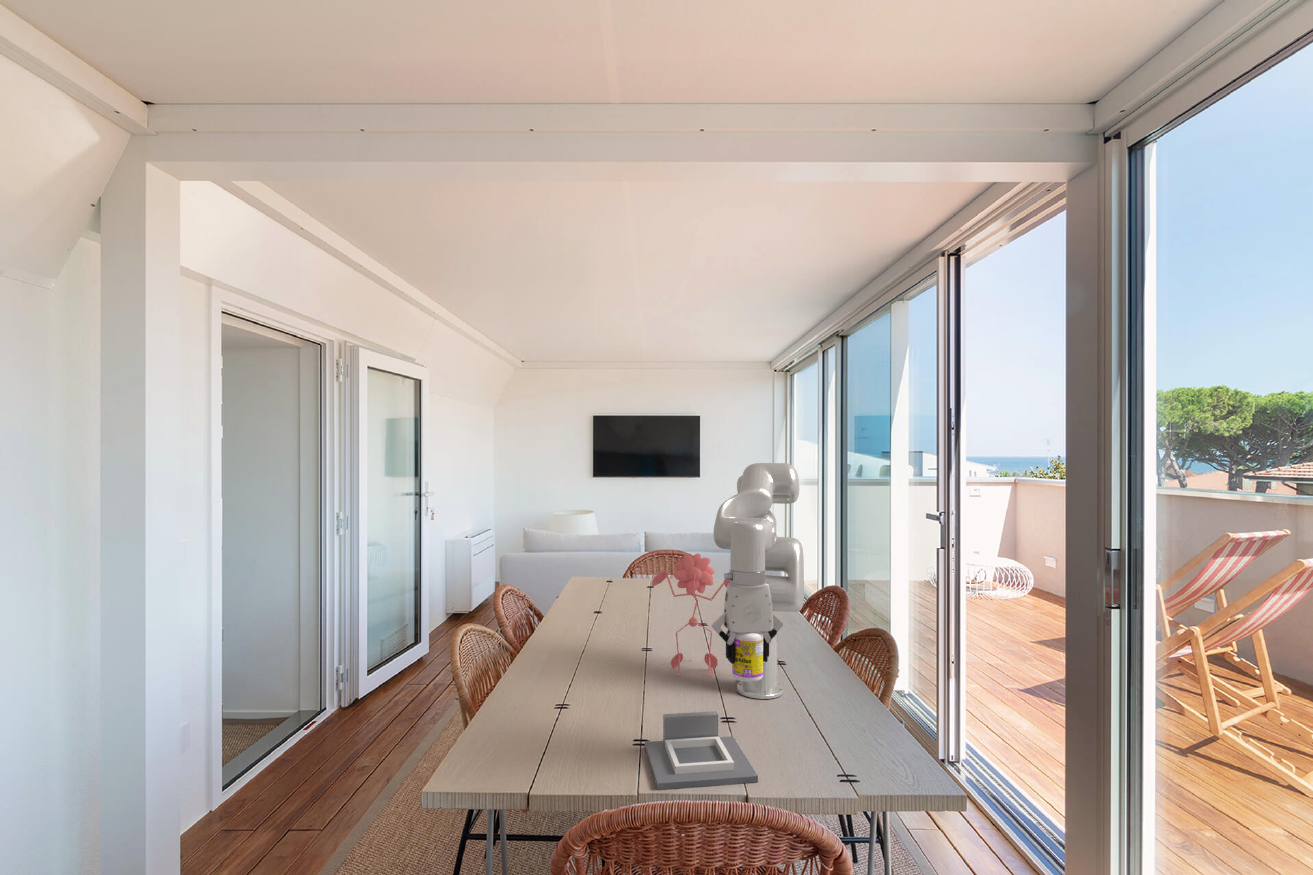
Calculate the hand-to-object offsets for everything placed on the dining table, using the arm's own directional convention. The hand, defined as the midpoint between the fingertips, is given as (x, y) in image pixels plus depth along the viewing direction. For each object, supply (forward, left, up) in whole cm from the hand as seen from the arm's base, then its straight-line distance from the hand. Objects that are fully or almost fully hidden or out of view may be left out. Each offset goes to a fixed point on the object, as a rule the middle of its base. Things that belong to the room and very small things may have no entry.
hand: (747, 660), depth 136 cm
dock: (+3, -12, -20) cm, 23 cm away
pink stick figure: (-56, 0, -20) cm, 59 cm away
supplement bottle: (0, 0, -4) cm, 4 cm away
